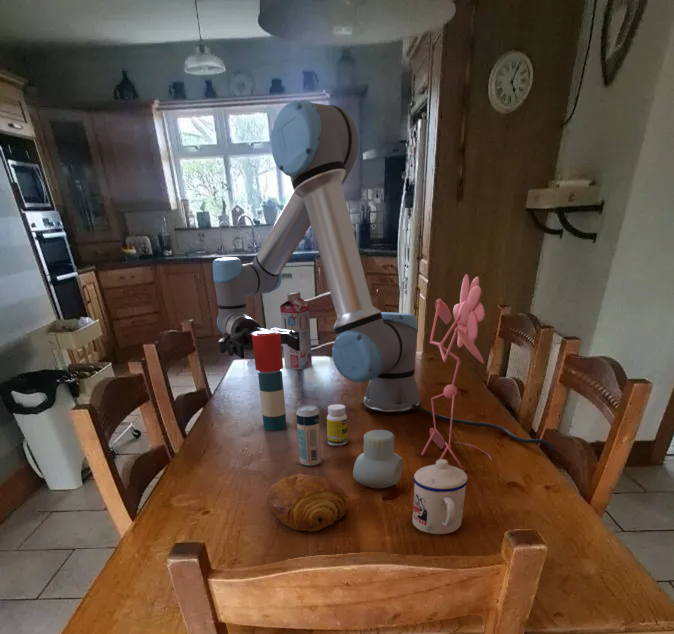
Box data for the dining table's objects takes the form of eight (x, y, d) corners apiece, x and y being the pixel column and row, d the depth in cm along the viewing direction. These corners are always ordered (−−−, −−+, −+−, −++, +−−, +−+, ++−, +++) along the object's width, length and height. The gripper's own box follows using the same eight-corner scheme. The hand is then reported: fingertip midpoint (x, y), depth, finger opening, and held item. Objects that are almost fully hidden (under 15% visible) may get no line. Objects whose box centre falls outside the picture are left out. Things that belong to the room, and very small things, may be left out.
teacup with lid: (405, 513, 101) (408, 452, 94) (453, 509, 101) (460, 448, 94) (422, 547, 91) (427, 482, 84) (475, 541, 92) (484, 477, 85)
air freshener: (390, 496, 106) (391, 447, 100) (350, 491, 109) (349, 442, 102) (404, 474, 114) (406, 427, 108) (367, 469, 117) (367, 423, 111)
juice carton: (311, 365, 188) (308, 292, 175) (300, 369, 183) (295, 295, 170) (296, 362, 191) (291, 291, 178) (284, 367, 186) (279, 294, 173)
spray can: (291, 424, 140) (286, 366, 132) (277, 432, 136) (271, 372, 128) (272, 421, 143) (267, 364, 134) (259, 428, 139) (252, 369, 130)
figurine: (442, 489, 108) (461, 287, 87) (407, 442, 128) (416, 269, 107) (515, 481, 110) (551, 282, 89) (470, 436, 130) (490, 265, 109)
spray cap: (288, 366, 132) (285, 330, 127) (272, 373, 127) (268, 336, 123) (266, 363, 135) (263, 328, 130) (250, 370, 130) (245, 333, 126)
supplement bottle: (345, 446, 127) (344, 410, 122) (325, 445, 128) (324, 409, 123) (349, 439, 131) (348, 403, 126) (330, 438, 132) (328, 403, 127)
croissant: (286, 551, 95) (283, 513, 90) (258, 503, 105) (254, 466, 100) (361, 530, 99) (362, 493, 94) (327, 486, 109) (327, 450, 104)
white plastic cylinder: (324, 459, 122) (322, 405, 114) (316, 468, 118) (313, 412, 111) (304, 457, 123) (300, 403, 116) (296, 465, 119) (292, 410, 112)
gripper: (290, 342, 148) (321, 358, 132) (199, 353, 140) (220, 372, 125) (288, 311, 143) (319, 324, 128) (194, 321, 136) (215, 337, 120)
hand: (270, 348), depth 126 cm, fingers open, 13 cm apart
